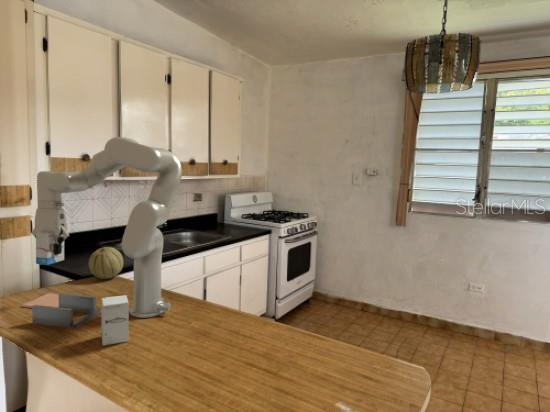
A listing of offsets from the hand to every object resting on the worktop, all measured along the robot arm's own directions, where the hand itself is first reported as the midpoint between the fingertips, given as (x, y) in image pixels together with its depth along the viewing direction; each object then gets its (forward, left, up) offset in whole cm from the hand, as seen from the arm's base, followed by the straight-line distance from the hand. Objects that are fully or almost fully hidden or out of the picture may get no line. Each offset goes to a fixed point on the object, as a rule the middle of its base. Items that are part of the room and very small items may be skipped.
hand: (50, 252), depth 137 cm
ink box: (0, 0, -4) cm, 4 cm away
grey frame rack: (-14, +10, -20) cm, 26 cm away
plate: (+1, -1, -20) cm, 20 cm away
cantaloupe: (0, -34, -20) cm, 39 cm away
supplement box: (-39, +20, -20) cm, 48 cm away
